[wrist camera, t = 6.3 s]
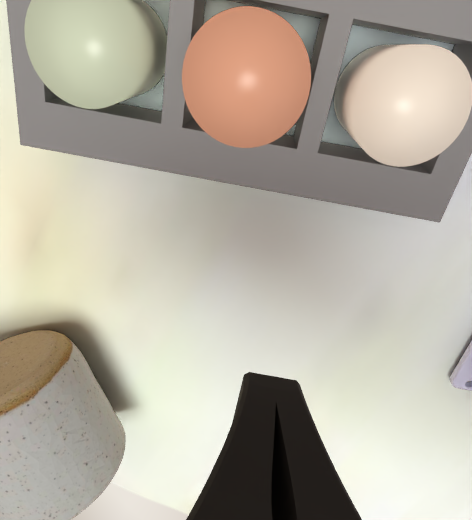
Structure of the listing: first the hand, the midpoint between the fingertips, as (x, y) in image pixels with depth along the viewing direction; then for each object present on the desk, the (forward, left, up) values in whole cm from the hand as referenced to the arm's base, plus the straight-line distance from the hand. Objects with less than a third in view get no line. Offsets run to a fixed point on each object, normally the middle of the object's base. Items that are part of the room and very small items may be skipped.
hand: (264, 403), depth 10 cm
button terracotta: (+2, -7, -9) cm, 11 cm away
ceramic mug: (+12, +13, -11) cm, 20 cm away
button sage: (+7, -7, -10) cm, 14 cm away
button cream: (-3, -7, -10) cm, 13 cm away
